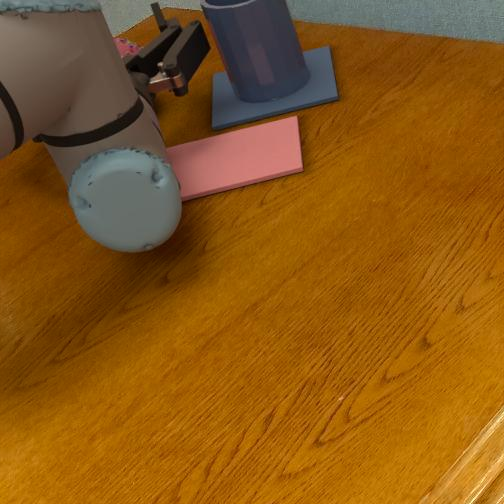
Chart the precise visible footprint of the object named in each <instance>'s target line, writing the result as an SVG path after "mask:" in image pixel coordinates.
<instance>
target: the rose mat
mask: <svg viewBox="0 0 504 504" xmlns="http://www.w3.org/2000/svg"><path fill="white" fill-rule="evenodd" d="M166 150H167V153H168V156H169V159H170V162H171V165H172V168H173V171H174V173H175V175H176V177H177V178H178V180H179V182H180V185H181V190H180V194H181V203H182V202H185V201H190V200H193V199H197V198H202V197H205V196H209V195H210V196H211V195H214V194H218V193H221V192H225V191H229V190H233V189H238V188H241V187H245V186H249V185H253V184H257V183H261V182H265V181H266V182H267V181H269V180H273V179H279V178H281V177H285V176H289V175H293V174H298V173H301V172H304V163H303V153H302V144H301V133H300V124H299V118H298V116H297V115H294V116H290V117H286V118H282V119H278V120H274V121H269V122H266V123H262V124H258V125H257V124H256V125H254V126H249V127H245V128H242V129H237V130H233V131H229V132H225V133H222V134H218V135H214V136H210V137H206V138H202V139H198V140H194V141H188V142H186V143H181V144H177V145H174V146H170V147H166Z"/></svg>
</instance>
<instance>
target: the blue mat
mask: <svg viewBox="0 0 504 504" xmlns="http://www.w3.org/2000/svg"><path fill="white" fill-rule="evenodd" d="M303 53H304V56H305V59H306V62H307V65H308V69H309V73H310V79H309V81H308V83H307V84H306V85H305V86H304V87H303V88H301V89H300V90H298V91H297V92H295V93H293V94H291V95H289V96H287V97H284V98H281V99H278V100H275V101H270V102H265V103H247V102H243V101H241V100H239V99H238V98H237V97H236V95H235V94H234V91H233V88H232V86H231V83H230V81H229V78H228V75H227V73H226V70H224V71H221V72H216V73H213V74H212V104H211V105H212V107H211V108H212V111H211V129H212V131H218V130H222V129H226V128H231V127H234V126H239V125H242V124H243V125H244V124H246V123H250V122H254V121H259V120H262V119H267V118H271V117H274V116H278V115H284V114H287V113H291V112H294V111H299V110H304V109H306V108H311V107H315V106H319V105H323V104H327V103H331V102H336V101H338V100H340V98H339V93H338V92H339V91H338V87H337V81H336V74H335V70H334V69H335V68H334V64H333V63H334V62H333V57H332V51H331V47H330V45H325V46H322V47H318V48H314V49H309V50H305V51H303Z"/></svg>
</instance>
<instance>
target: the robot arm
mask: <svg viewBox="0 0 504 504" xmlns="http://www.w3.org/2000/svg"><path fill="white" fill-rule="evenodd" d="M150 8H151V10H152V13H153V16H154V20H155V22H156V24H157V27H158V29H159V32H160V33H159V34H158V35H157V36H156V37H155V38H153V39H152V40H151V41H149V42H148V43H147V44H146V45H145V46H144V47H143V49H142V50H140V51H139V52H138V53H137V54H136V55H125V56H124V57H123V58H122V57H121V55H120V53H119V50H118V48H117V46H116V43H115V41H114V39H113V37H114V36H113V33H112V31H111V29H110V27H109V24H108V22H107V20H106V18H105V14H104V13H103V6H102V5H101V3H100V2H99V0H0V162H1V161H2V160H3V159H5V158H6V157H8V156H10V155H11V154H12V153H13V152H15V151H16V150H18V149H19V148H21V147H23V146H24V145H25V144H27V143H28V142H29V141H31V140H32V142H33V143H34V144H37V143H39V144H40V143H42V142H43V144H44V146H45V147H46V150H47V151H48V153H49V155H50V156H51V157H50V158H52V161H53V162H54V164H55V166H56V169H58V171H59V174H60V175H61V177H62V178H63V180H64V182H65V185H66V187H67V189H66V191H67V193H68V196H67V202H68V203H69V205H70V207H71V209H72V211H73V212H74V216H75V218H76V220H77V223H78V224H79V226H80V228H81V229H82V230H83V231H84V232H85V234H86V235H87V236H89V238H91V239H92V240H93V241H94V242H96V243H98V244H99V245H101V246H102V247H105V248H106V249H109V250H112V251H116V252H121V253H131V254H133V253H141V252H146V251H152V250H153V249H155V248H157V247H159V246H161V245H162V244H164V243H166V241H168V240H169V239H170V238H171V237H172V236H173V234H174V233H175V231H177V228H178V226H179V224H180V221H181V217H182V209H183V204H182V202H181V194H180V190H181V185H180V182H179V180H178V178H177V177H176V175H175V173H174V171H173V168H172V165H171V162H170V159H169V156H168V153H167V150H166V148H167V146H166V143H165V140H164V136H163V132H162V129H161V125H160V122H159V118H158V116H157V112H156V109H155V106H154V101H155V100H156V97H157V94H158V93H161V92H165V91H168V92H169V93H173V94H174V96H175V97H176V98H181V97H184V96H186V95H187V94H189V83H190V82H191V80H192V78H193V77H194V75H195V74H196V72H197V71H198V70H199V68H200V66H201V64H202V63H203V62H204V60H205V59H206V57H207V56H208V54H209V52H210V51H211V49H212V47H211V45H210V41H209V40H208V37H207V34H206V32H205V29H204V27H203V23H202V21H201V20H200V19H192V20H190V21H189V22H188V23H187V24H186V26H185V27H182V25H181V23H180V20H179V18H178V17H176V16H174V17H171V18H168V19H166V18H165V16H164V13H163V11H162V9H161V6H160V4H159V1H155V2H152V3H150ZM128 70H129V71H128Z"/></svg>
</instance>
